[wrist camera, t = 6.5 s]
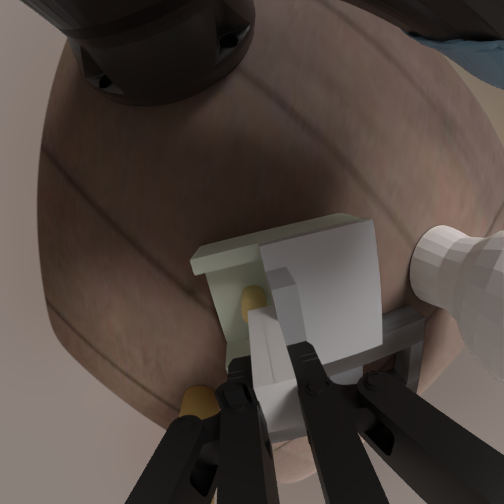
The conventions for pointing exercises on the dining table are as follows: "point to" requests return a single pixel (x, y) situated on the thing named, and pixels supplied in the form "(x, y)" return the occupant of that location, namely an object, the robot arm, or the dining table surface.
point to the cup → (465, 288)
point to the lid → (327, 288)
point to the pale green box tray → (246, 276)
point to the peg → (199, 404)
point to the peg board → (393, 341)
